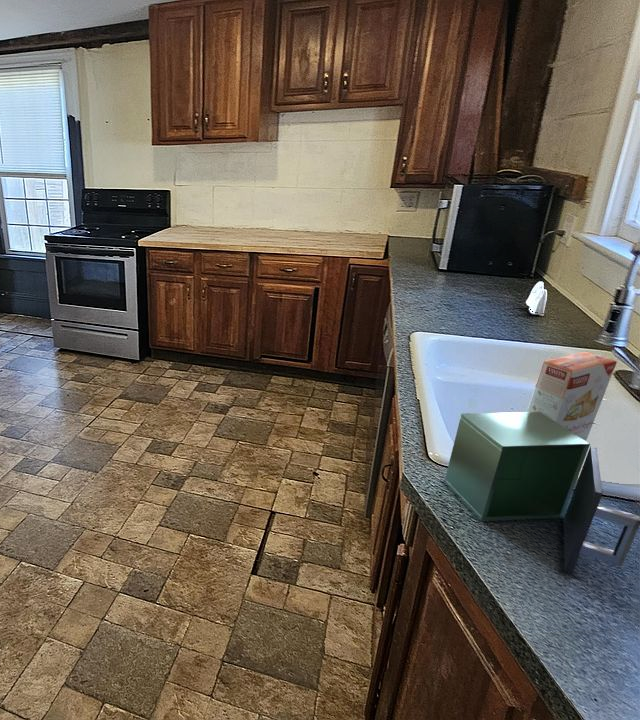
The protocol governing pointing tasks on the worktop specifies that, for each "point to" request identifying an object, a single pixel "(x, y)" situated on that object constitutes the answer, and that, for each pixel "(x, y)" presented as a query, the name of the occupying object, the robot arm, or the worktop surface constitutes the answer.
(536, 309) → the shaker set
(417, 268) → the worktop surface
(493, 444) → the dark green box
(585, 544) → the door
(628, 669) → the worktop surface
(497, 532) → the worktop surface
